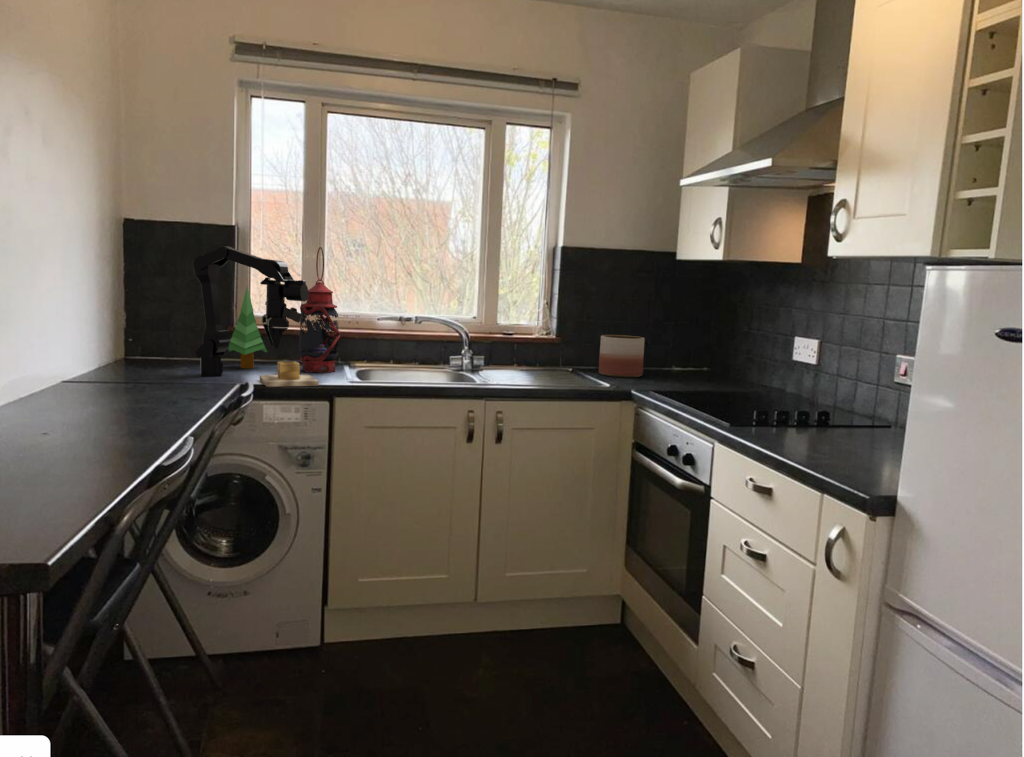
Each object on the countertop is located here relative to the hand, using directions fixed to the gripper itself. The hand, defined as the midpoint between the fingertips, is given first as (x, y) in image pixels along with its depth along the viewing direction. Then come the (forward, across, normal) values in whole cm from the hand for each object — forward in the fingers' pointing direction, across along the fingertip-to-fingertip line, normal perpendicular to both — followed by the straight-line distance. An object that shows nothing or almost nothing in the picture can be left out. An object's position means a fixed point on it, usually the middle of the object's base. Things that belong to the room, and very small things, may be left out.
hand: (274, 347), depth 252 cm
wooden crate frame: (+9, -7, -4) cm, 12 cm away
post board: (+11, -7, -4) cm, 13 cm away
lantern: (+11, +23, -19) cm, 32 cm away
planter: (+9, +1, -136) cm, 136 cm away
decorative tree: (+12, +34, +5) cm, 36 cm away
